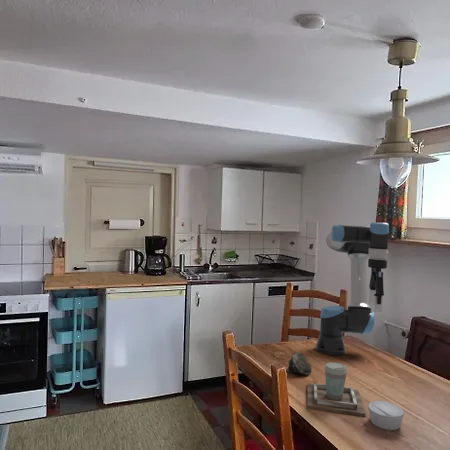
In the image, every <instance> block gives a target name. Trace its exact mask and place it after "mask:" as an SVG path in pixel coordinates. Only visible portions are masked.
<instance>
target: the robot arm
mask: <svg viewBox="0 0 450 450" xmlns="http://www.w3.org/2000/svg"><path fill="white" fill-rule="evenodd" d="M369 224H370V225H369V226H368V225H367V226H364V225H343V224H336V225H333V226H332V227H331V231H330V232H329V234H328V235H327V236H326V245H327V246H328V247H329V248H330V249H331V250H333V251H334V252H338V253H346V254H347V258H348V259H350V304H349V305H348V306H347V309H345V307H344V306H342V305H328V306H327V305H326V306H323V308H322V309H321V311H320V317H319V318H320V322H319V323H320V327H319V328H320V329H319V336H318V339H317V341H316V344H315V350H316V352H318V353H320V354H323V355H328V356H334V357H336V356H337V357H338V356H343V355H345V354H346V350H347V348H346V345H345V341H344V337H343V336H344V335H343V334H344V333H349V334H359V335H370V334H372V332H373V330H374V328H375V322H376V320H375V319H376V313H382V312H383V296H384V295H385V292H384V272H383V271H382V270H385V269H387V268H388V260H387V259H388V255H389V253H390V251H388V249H389V248H388V247H389V236H390V235H389V233H390V229H389V228H390V225H389V223H388V222H371V223H369ZM368 268H370V269H371V271H370V279H369V278H368ZM368 279H369V280H368ZM368 281H369V282H368ZM368 284H369V285H368ZM368 288H369V289H368ZM368 290H369V291H368ZM368 293H369V294H368ZM371 305H372V306H374V310H373V311H372V307H371Z"/></svg>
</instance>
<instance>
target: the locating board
mask: <svg viewBox="0 0 450 450" xmlns="http://www.w3.org/2000/svg"><path fill="white" fill-rule="evenodd" d="M306 385H307V386H306V389H307V395H306V396H307V397H306V398H307V401H306V402H307V404H306V405H307V407H306V409H310V410H316V411H317V410H318V411H325V412H332V413H338V414H347V415H352V416H353V415H354V416H358V417H359V416H360V417H361V416H362V417H366V416H367V415H366V411H365V407H364V404H363V400H362V397H361V394H360V391H359V388H358V389H357V388H354V387H350V386H344V391H343V397H342V399H341V400H332V399H330V398H328V397H327V394H326V383H318V382H313V383H311V382H310V383H309V382H307V384H306Z"/></svg>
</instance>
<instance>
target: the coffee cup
mask: <svg viewBox="0 0 450 450" xmlns="http://www.w3.org/2000/svg"><path fill="white" fill-rule="evenodd" d="M324 374H325V376H324V377H325V378H324V379H325V384H326V394H327V397H328V398H330V399H332V400H341V399H342V397H343V391H344V387H345V385H346V378H347V374H348V369H347V366H346V365H345V364H343V363H340V362H337V361H336V362H334V361H333V362H331V361H330V362H327V363H326V364H325V366H324Z"/></svg>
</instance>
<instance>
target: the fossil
mask: <svg viewBox="0 0 450 450" xmlns="http://www.w3.org/2000/svg"><path fill="white" fill-rule="evenodd" d="M287 373H288V374H292V373H293V374H300V375H301V376H304V377H305V376H306V377H307V376H309V375H310V374H311V373H312V365H311V363H309V361H308V359H307V358H306V357H305V355H304V354H302V353H301V352H296V353H294V354H293V355H292V356H291V358H290V359H289V361H288V370H287Z"/></svg>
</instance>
